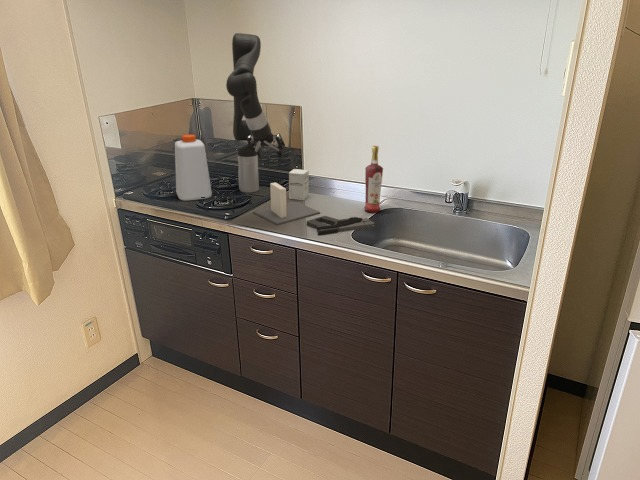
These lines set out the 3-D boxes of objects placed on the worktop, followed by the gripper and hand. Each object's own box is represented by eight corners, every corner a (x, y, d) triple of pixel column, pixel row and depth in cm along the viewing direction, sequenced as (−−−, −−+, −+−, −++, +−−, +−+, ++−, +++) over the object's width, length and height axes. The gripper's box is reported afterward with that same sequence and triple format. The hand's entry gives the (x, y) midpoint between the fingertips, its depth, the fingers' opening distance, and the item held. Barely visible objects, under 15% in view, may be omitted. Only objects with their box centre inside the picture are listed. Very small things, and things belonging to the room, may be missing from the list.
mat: (253, 213, 214) (252, 211, 214) (294, 202, 227) (294, 201, 226) (277, 225, 201) (277, 223, 201) (320, 213, 214) (320, 211, 214)
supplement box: (288, 199, 232) (288, 172, 227) (294, 194, 238) (293, 168, 233) (303, 200, 230) (303, 173, 225) (309, 196, 236) (309, 169, 231)
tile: (271, 210, 215) (270, 183, 210) (277, 209, 216) (276, 182, 211) (280, 217, 207) (280, 189, 202) (287, 216, 208) (286, 188, 203)
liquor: (368, 214, 213) (371, 149, 202) (360, 209, 220) (363, 145, 209) (383, 212, 216) (387, 147, 205) (375, 207, 222) (379, 143, 211)
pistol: (303, 218, 204) (316, 231, 191) (361, 211, 212) (377, 223, 199) (303, 223, 204) (316, 236, 191) (361, 216, 213) (377, 228, 200)
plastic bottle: (213, 198, 231) (208, 137, 220) (179, 202, 226) (173, 140, 215) (207, 189, 244) (202, 131, 233) (175, 192, 239) (169, 133, 228)
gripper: (277, 116, 189) (290, 150, 201) (244, 118, 195) (259, 151, 206) (271, 128, 185) (284, 162, 196) (237, 130, 190) (252, 163, 201)
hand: (271, 156), depth 201 cm, fingers open, 8 cm apart
